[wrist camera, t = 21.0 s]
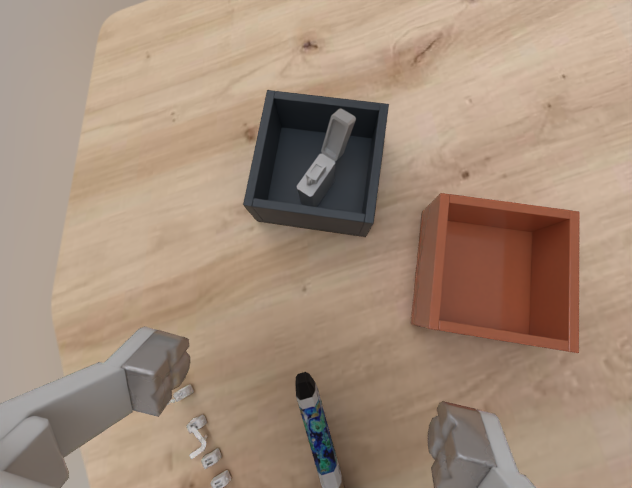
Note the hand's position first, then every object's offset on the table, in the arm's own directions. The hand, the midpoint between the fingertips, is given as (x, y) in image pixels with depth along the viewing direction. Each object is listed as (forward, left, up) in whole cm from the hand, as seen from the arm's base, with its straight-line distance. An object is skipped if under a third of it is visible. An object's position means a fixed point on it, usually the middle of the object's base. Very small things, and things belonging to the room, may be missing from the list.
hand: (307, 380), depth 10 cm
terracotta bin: (-14, -8, -21) cm, 27 cm away
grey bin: (+3, -16, -21) cm, 27 cm away
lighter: (+2, -15, -21) cm, 26 cm away
